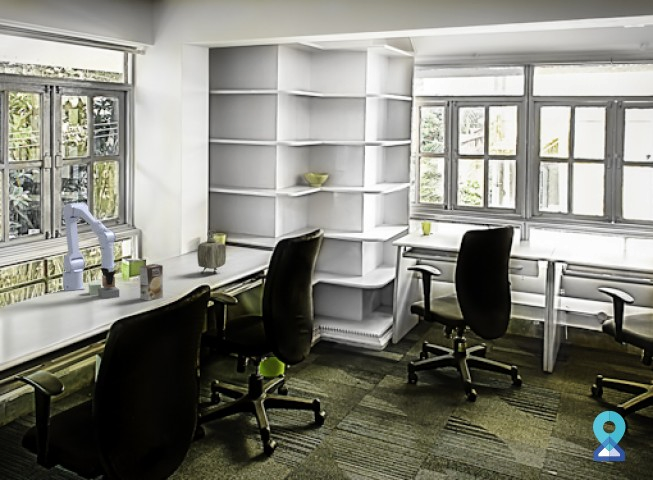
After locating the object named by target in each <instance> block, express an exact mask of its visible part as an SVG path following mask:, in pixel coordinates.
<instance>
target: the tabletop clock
mask: <svg viewBox="0 0 653 480" xmlns="http://www.w3.org/2000/svg"><path fill="white" fill-rule="evenodd" d="M213 231H214V233H215V234H214V235H213V234H210V235H209V233H210V232H213ZM206 235H207V237H208V238H207V241H206V240H205V241H202V242H201V243H199V244H198V246H197V251H196V252H197V256H196V257H197V258H196V259H197V265H198V267H200V268H203V270H202V271H200V274H201V275H204V273H205V271H206V270H207V269H210V270H212V269H213V270H214V271H213V274H214V273H216V274H218V273H217V271H218V268H220V267H223V266H225V264H226V260H227V259H226V258H227V249H226V245H225V243H223V242H221V241H217V239H216V238H215V236H216V235H217V230H215V229H209V230H208V231H207V234H206ZM215 270H217V271H215Z"/></svg>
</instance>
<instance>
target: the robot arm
mask: <svg viewBox="0 0 653 480" xmlns="http://www.w3.org/2000/svg"><path fill="white" fill-rule="evenodd" d="M80 218H82V219H83V220H84V221H85V222H86V223H88V225H90V230H91V232H93V233H94V234H95V236H97V239H98V240H97V241H98V242H99V247H100V255H101V256H100V258H101V265H100V266H101V267H100V268H99V269H100V271H101V273H102V276H105V277H106V282H107V285H112V282H113V277H115V274H116V272H117V271H116V270H115V269H114V268H115V267H117V264H116V263H115V257H114V252H115V251H114V243H115V241H116V238H117V236H116V233H115V232H114V230H110V229H108V228H107V227H106V226H105V225H104V224H103V222H102V221H100V220H97V219H95V217H94V215H92V214H91V212H90V210H89V206H88V205H87V204H86V203H85V202H84V201H82V202H81V201H80V202H73V203H66V204H65V205H64V206H63V219H64V224H65V233H66V234H65V235H66V245H67V253H66V254H65V255H64V256H63V263H62V265H63V266H62V267H63V270H64V272H62V288H63V290H64V291H65V292H69V291H78V290H85V289H86V287H85V286H84V285H83V284H84V281H83V271H84V269H85V268H86V265H87V264H86V259H85V257H84V256H85V255H84V254H83V253H81V251H80V246H79V235H78V226H77V225H78V223H77V221H78V220H79V219H80Z"/></svg>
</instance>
